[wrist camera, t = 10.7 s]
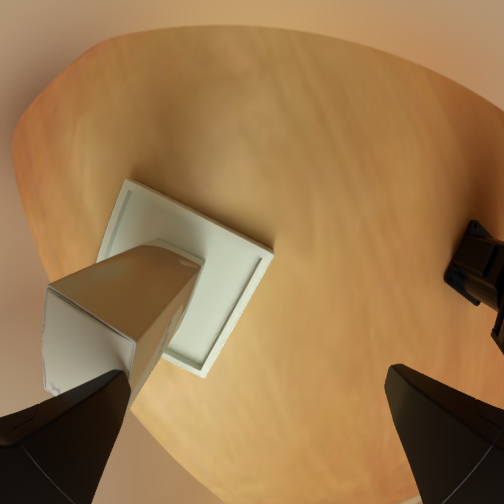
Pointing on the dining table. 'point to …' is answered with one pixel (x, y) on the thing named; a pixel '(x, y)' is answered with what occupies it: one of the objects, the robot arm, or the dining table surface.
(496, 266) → the robot arm
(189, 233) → the sage dish
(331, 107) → the dining table surface
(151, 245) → the skincare box
